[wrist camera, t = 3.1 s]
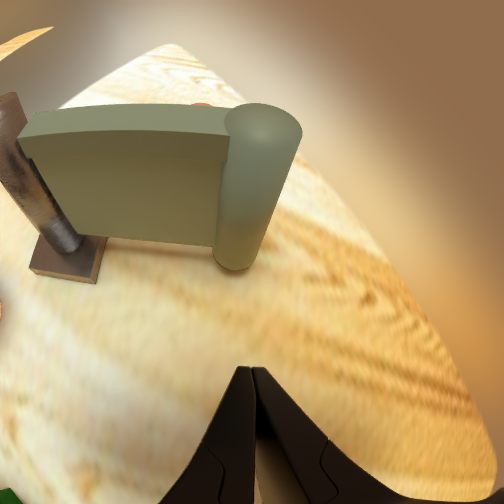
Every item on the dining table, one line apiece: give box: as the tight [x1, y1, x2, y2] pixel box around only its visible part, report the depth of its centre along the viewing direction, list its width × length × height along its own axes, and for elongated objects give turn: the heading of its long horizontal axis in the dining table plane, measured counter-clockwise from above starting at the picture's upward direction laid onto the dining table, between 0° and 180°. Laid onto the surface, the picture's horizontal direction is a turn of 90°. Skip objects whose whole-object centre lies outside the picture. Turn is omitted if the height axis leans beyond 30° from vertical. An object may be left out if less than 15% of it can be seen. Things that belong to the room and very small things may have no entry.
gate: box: [17, 103, 302, 270], centre depth 14 cm, size 12×3×10 cm, turn 88°
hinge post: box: [0, 92, 107, 284], centre depth 13 cm, size 6×6×14 cm
